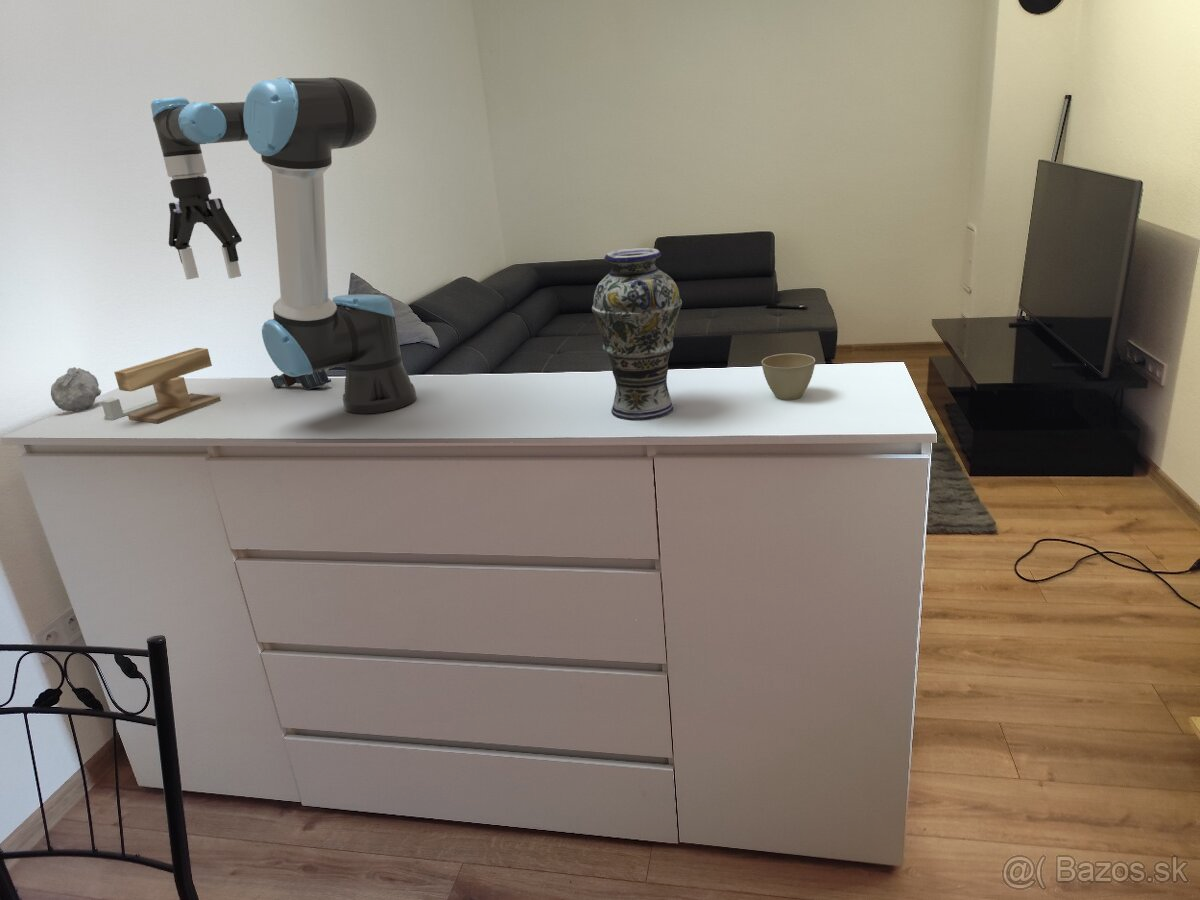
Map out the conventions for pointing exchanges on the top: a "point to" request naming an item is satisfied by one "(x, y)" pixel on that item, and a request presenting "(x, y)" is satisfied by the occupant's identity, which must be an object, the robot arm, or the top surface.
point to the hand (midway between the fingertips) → (213, 278)
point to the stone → (75, 390)
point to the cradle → (115, 411)
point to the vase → (637, 331)
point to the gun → (302, 380)
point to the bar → (162, 369)
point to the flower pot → (788, 374)
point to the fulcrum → (172, 402)
